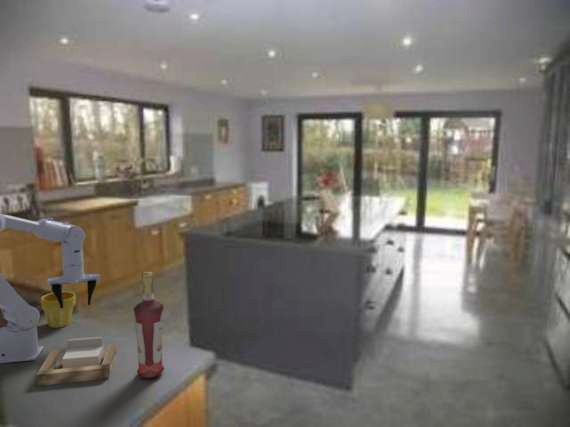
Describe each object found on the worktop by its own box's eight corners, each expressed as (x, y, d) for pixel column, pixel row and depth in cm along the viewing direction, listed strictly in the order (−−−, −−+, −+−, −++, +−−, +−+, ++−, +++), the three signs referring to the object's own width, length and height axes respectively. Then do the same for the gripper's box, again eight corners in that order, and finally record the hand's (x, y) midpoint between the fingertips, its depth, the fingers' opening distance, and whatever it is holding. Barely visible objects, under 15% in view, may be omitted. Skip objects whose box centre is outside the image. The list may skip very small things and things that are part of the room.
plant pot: (83, 318, 151) (81, 291, 149) (65, 331, 140) (63, 302, 139) (55, 316, 152) (53, 290, 150) (35, 329, 141) (33, 300, 140)
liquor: (164, 380, 112) (161, 276, 108) (134, 383, 111) (130, 278, 106) (165, 366, 119) (163, 268, 115) (138, 368, 118) (134, 269, 113)
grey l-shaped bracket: (63, 372, 115) (61, 350, 114) (69, 359, 122) (68, 339, 121) (99, 369, 117) (97, 347, 116) (103, 356, 124) (102, 336, 123)
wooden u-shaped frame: (37, 385, 109) (36, 374, 108) (52, 359, 122) (52, 349, 122) (109, 378, 113) (108, 367, 112) (116, 353, 126) (116, 343, 126)
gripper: (44, 269, 126) (48, 313, 128) (98, 264, 132) (101, 306, 134) (47, 263, 133) (50, 305, 135) (98, 258, 138) (100, 299, 140)
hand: (75, 305), depth 135 cm, fingers open, 7 cm apart
